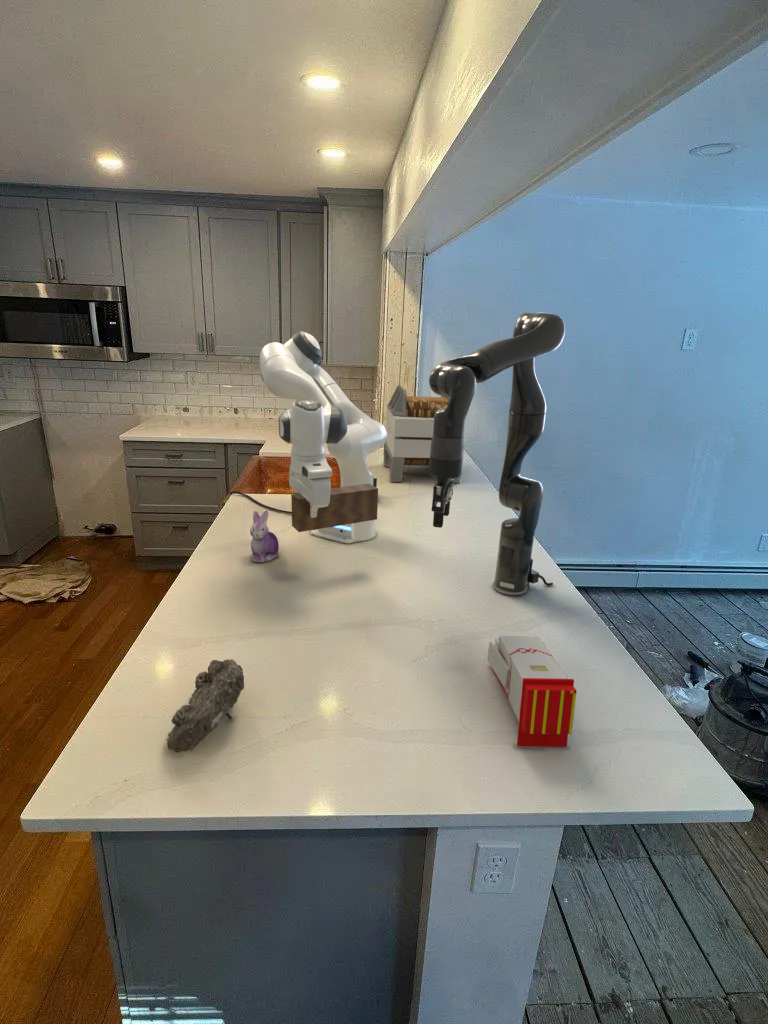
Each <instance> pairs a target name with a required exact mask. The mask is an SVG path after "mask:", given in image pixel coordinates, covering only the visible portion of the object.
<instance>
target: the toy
mask: <svg viewBox="0 0 768 1024" xmlns="http://www.w3.org/2000/svg"><path fill="white" fill-rule="evenodd" d="M488 643H489V644H488V651H487V658H486V659H487V662H488V664H489V666H490V668H491V669H492V672H493V674H494V675H495V677H496V679H497V681H498V682H499V684H500V687H501V688H502V691H503V692H504V694H505V697H507V699H508V702H509V705H510V706H511V709H512V710H513V713H514V714H515V717H516V720H517V721H518V728H517V729H518V730H517V741H516V746H517V747H520V748H521V747H522V748H523V747H525V748H527V747H529V748H531V747H532V748H533V747H534V748H545V747H546V748H567V747H568V740H569V735H572V733H573V725H574V716H575V708H576V700H577V689H576V687H575V686H574V685H575V679H574V678H569V677H568V676H567V675H566V673H565V672H564V670H563V669H562V668H561V667H560V665H559V663H558V662H557V661H556V659H555V658H554V656H553V654H552V653H551V652H550V650H549V649H548V648H547V646H546V644H545V642H544V641H543V640H542V639H541V638H540V636H534V635H533V636H532V635H530V636H527V635H526V636H525V635H524V636H523V635H498V637H497V636H496V637H494V643H493V641H489V642H488Z"/></svg>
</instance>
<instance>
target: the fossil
mask: <svg viewBox="0 0 768 1024" xmlns="http://www.w3.org/2000/svg"><path fill="white" fill-rule="evenodd" d="M243 670H244V669H243V667H242V665H240V664H237V662H236V661H235V660H234V659H232V658H231V659H227V658H226V659H224V660H223V661H222V660H217V659H212V660H211V661H210V663H209V665H208V666H207V671H201V672H199V673H198V674H197V675H196V676H195V680H194V684H195V685H194V687H195V689H194V690H193V693H192V694H191V697H190V698H189V700H188V704H184V705H182V706H181V707H180V709H177V710H176V711H175V713H174V715H173V716H172V718H171V723H172V724H173V727H172V730H171V731H170V732H168V734H167V738H166V741H167V742H166V745H167V749H168V750H169V751H173V752H174V753H176V754H178V753H182V752H188V751H189V752H192V751H193V750H195V748H196V747H197V746H199V744H200V743H201V742H203V741H204V740H205V739H206V738H207V737H208V736H209V735H210V734H211V733H212V732H214V730H215V729H217V727H218V726H219V724H220V722H221V721H222V720H223V719H224V718H225V716H226V717H227V719H229V720H233V717H232V715H230V714H229V710H230V709H231V708H234V706H235V704H236V703H237V702H238V699H239V697H240V695H241V693H242V691H243V690H245V689H244V688H245V675H244V671H243Z"/></svg>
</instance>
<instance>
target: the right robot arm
mask: <svg viewBox="0 0 768 1024" xmlns="http://www.w3.org/2000/svg"><path fill="white" fill-rule="evenodd" d="M565 334H566V325H565V321H564V319H563V318H562V317H561V316H560V315H558V314H556V313H552V312H535V311H534V312H532V311H528V312H527V311H525V312H523V313H522V314H520V315H519V316H518V318H517V319H516V321H515V324H514V327H513V333H512V337H509V338H505V339H500V340H497V341H494V342H491V343H487V344H485V345H484V346H481V347H480V348H478V349H476V350H474V351H472V352H471V353H469V354H466V355H462V356H459V357H455V358H451V359H448V360H445V361H443V362H440V363H439V364H437V365H436V366H435V367H434V368H433V369H432V371H431V373H430V375H429V378H428V384H429V385H428V386H429V388H430V390H431V391H432V392H433V393H434V394H435V395H438V396H439V397H441V396H445V397H450V401H449V403H448V406H447V407H444V408H439V409H437V410H436V412H435V414H434V424H433V436H432V441H431V449H430V463H429V465H428V473H429V474H430V475H431V476H433V477H436V478H437V479H436V482H434V485H433V487H432V503H431V512H433V516H432V517H433V520H432V526H433V528H439V529H440V528H443V525H444V517H448V516H449V515H450V510H451V509H450V507H451V501H452V499H453V495H454V485H455V483H454V478H457V477H459V476H460V477H461V475H462V470H463V462H464V461H463V460H464V450H465V440H464V439H465V438H464V437H465V426H466V418H467V415H468V412H469V410H470V407H471V404H472V401H473V399H474V397H475V394H476V389H477V384H481V383H484V382H486V381H488V380H489V379H491V378H493V377H495V376H496V375H499V374H500V373H502V372H503V371H506V370H507V369H509V368H511V367H512V379H511V393H510V404H509V411H508V420H507V435H506V445H505V447H506V448H505V453H504V459H503V464H502V465H503V467H502V471H501V472H502V473H501V476H500V480H499V481H500V482H499V487H498V500H499V503H500V505H501V506H503V507H505V508H508V509H511V510H514V511H516V512H519V516H518V517H514V518H508V519H505V520H503V521H502V522H501V525H500V531H499V532H500V533H499V539H498V540H499V541H498V548H497V549H498V551H497V558H496V565H495V566H496V567H495V575H494V581H493V589H494V590H495V591H496V592H498V593H500V594H502V595H506V596H513V597H516V596H517V597H518V596H523V595H525V594H526V593H527V592H528V590H530V584H532V585H533V584H536V583H539V580H540V579H541V580H542V582H543V584H544V585H545V586H547V587H549V586H550V587H551V586H553V585H554V583H553V582H547V580H546V579H545V577H544V576H542V575H540V573H539V572H538V571H536V570H535V569H533V562H534V559H533V558H532V554H533V547H534V540H535V533H536V529H537V527H538V524H539V517H540V513H541V508H542V503H543V497H544V487H543V484H542V483H541V482H540V481H539V480H536V479H532V478H530V477H529V478H528V477H524V476H521V470H522V465H523V463H524V460H525V458H526V456H527V455H528V453H529V451H530V450H531V449H532V448H533V447H534V446H535V444H536V443H537V442H538V440H539V439H540V438H541V436H542V435H543V432H544V429H545V423H546V422H545V421H546V414H547V403H546V398H545V395H544V393H543V390H542V388H541V385H540V383H539V381H538V378H537V375H536V370H535V358H536V357H540V356H543V355H546V354H549V353H551V352H554V351H555V350H557V349H558V348H559V347H560V345H561V344H562V343H563V341H564V338H565ZM438 504H440V506H438Z"/></svg>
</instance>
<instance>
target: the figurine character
mask: <svg viewBox="0 0 768 1024" xmlns="http://www.w3.org/2000/svg"><path fill="white" fill-rule="evenodd" d="M377 484H378V478H377V477H373V486H375V487H376V488H378V485H377Z"/></svg>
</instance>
